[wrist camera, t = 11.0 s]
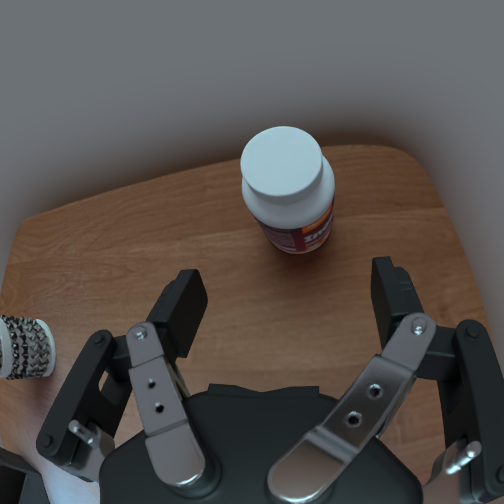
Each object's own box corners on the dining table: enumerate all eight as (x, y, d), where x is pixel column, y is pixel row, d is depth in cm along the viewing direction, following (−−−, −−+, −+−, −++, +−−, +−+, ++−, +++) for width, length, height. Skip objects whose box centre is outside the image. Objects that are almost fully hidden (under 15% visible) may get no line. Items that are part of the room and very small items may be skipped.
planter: (45, 537, 19) (-37, 521, 5) (23, 517, 21) (-54, 493, 7) (60, 479, 31) (-25, 449, 17) (37, 462, 32) (-40, 426, 18)
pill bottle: (318, 265, 25) (313, 227, 14) (254, 240, 26) (208, 192, 16) (341, 202, 25) (348, 131, 15) (280, 182, 27) (252, 108, 17)
